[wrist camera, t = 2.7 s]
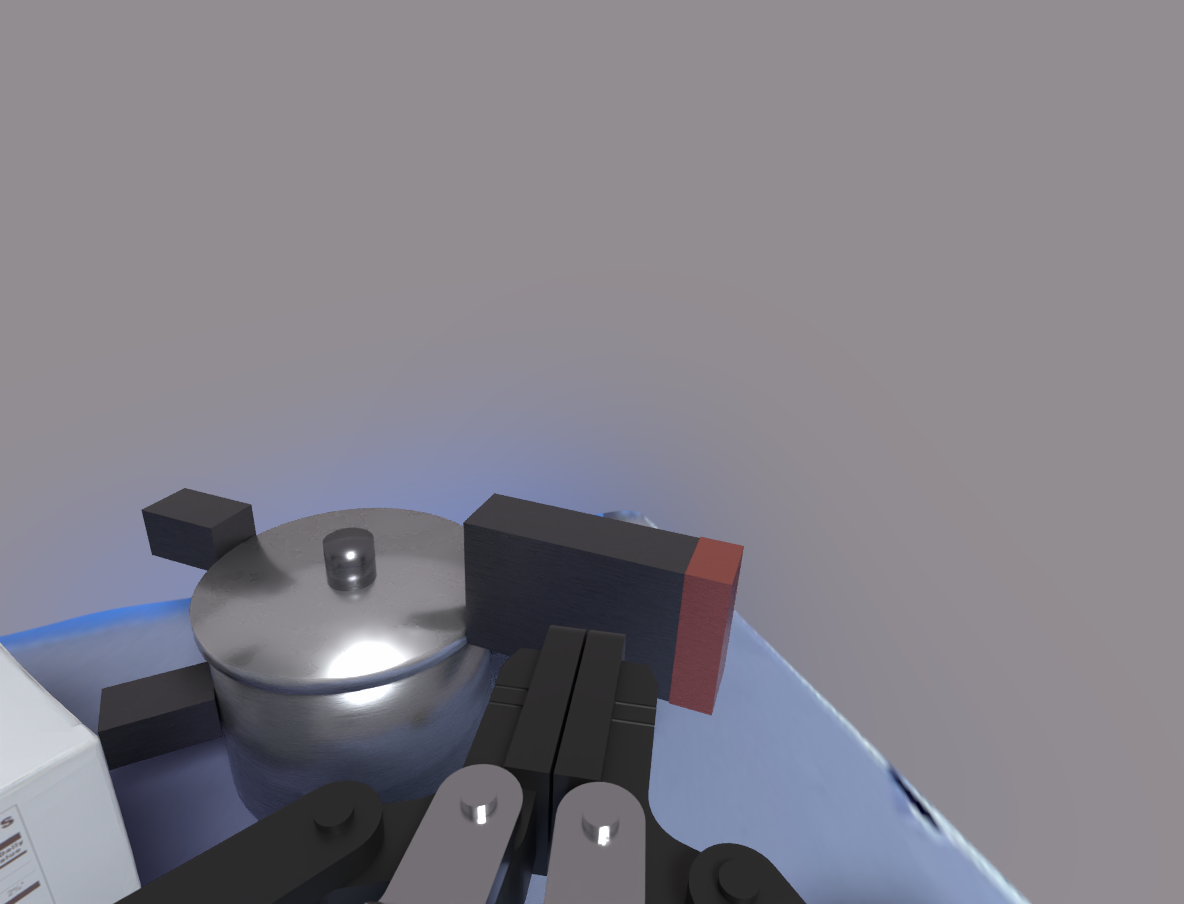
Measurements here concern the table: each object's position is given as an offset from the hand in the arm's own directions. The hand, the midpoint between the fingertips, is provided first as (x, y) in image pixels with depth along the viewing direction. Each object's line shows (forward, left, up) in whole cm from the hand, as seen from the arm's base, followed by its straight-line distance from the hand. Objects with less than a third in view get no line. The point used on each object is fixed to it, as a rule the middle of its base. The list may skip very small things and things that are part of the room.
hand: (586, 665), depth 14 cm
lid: (-13, +19, -14) cm, 27 cm away
